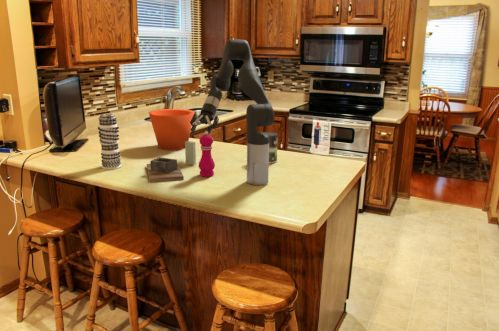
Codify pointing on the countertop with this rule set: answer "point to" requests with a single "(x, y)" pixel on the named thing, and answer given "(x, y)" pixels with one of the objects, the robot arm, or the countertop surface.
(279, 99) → the countertop surface
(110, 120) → the decorative candle
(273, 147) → the coffee can
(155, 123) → the flowerpot
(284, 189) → the countertop surface
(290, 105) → the countertop surface
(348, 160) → the countertop surface
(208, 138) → the pepper mill
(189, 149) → the slat
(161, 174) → the brown piece
